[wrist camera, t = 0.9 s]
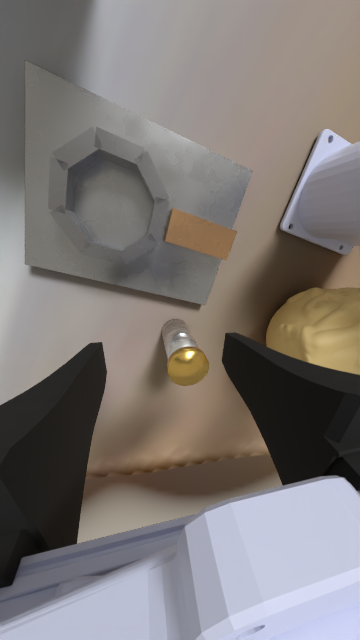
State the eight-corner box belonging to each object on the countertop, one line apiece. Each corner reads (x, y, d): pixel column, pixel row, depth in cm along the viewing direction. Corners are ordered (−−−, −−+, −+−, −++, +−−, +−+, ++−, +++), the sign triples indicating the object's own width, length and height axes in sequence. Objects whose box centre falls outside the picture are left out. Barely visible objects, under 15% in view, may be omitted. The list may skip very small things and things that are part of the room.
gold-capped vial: (193, 320, 22) (214, 354, 15) (184, 346, 23) (201, 387, 17) (164, 314, 21) (174, 348, 15) (156, 341, 22) (163, 383, 16)
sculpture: (336, 261, 22) (489, 283, 12) (333, 342, 27) (438, 402, 18) (245, 298, 22) (329, 350, 12) (259, 373, 27) (326, 450, 17)
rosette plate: (246, 174, 17) (267, 162, 14) (202, 302, 21) (211, 312, 18) (33, 72, 12) (3, 27, 9) (31, 262, 16) (10, 268, 14)
